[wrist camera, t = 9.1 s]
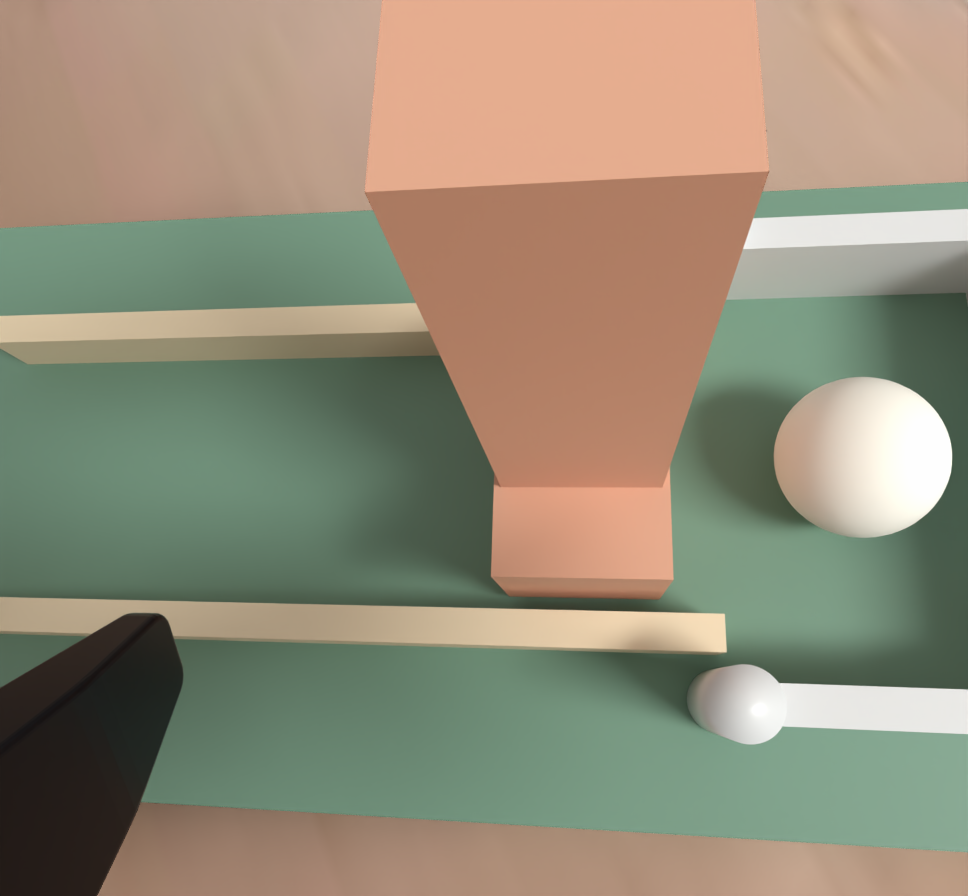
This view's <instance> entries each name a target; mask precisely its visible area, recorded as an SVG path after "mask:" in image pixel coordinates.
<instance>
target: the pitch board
mask: <svg viewBox="0 0 968 896" xmlns="http://www.w3.org/2000/svg"><path fill="white" fill-rule="evenodd" d="M956 209H968V182H955V183H934V184H913V185H892V186H871V187H851V188H830V189H809V190H788V191H767V192H762V194H761V197H760V200H759V203H758V206H757V209H756V212H755V215H754V218H772V217H795V216H818V215H841V214H864V213H887V212H910V211H933V210H956ZM852 377H873V378H880V379H885V380H889V381H892V382H895V383H898V384H900V385H902V386H904V387H907V388H909V389H911V390H912V391H914V392H915V393H917V394H918V395H920V396H921V397H922V398H924V399H925V400H926V401H927V402H928V403H929V404H930V405H931V406H932V407H933V408H934V410H935V411H936V412H937V413H938V415H939V416H940V418H941V419H942V421H943V423H944V425H945V427H946V429H947V432H948V435H949V438H950V442H951V448H952V467H951V474H950V477H949V481H948V483H947V486H946V488H945V490H944V492H943V494H942V496H941V498H940V499H939V500H938V502H937V503H936V504H935V506H934V507H933V508H932V509H931V510H930V511H929V512H928V513H927V514H926V515H925V516H924V517H922V518H921V519H920V520H918V521H917V522H916V523H914V524H913V525H911V526H909V527H907V528H905V529H903V530H901V531H898V532H895V533H892V534H889V535H884V536H879V537H871V538H857V537H847V536H842V535H838V534H835V533H832V532H829V531H826V530H824V529H822V528H820V527H818V526H816V525H814V524H813V523H811V522H810V521H808V520H807V519H806V518H804V517H803V516H802V515H801V514H799V513H798V512H797V511H796V510H795V509H794V508H793V506H792V505H791V504H790V503H789V501H788V500H787V499H786V497H785V495H784V494H783V492H782V490H781V488H780V485H779V483H778V480H777V477H776V472H775V467H774V446H775V442H776V437H777V434H778V431H779V429H780V426H781V424H782V422H783V421H784V419H785V417H786V416H787V414H788V413H789V412H790V410H791V409H792V408H793V406H795V405H796V404H797V403H798V402H799V401H800V400H801V399H802V398H803V397H804V396H806V395H807V394H808V393H810V392H811V391H813V390H815V389H817V388H818V387H821V386H823V385H825V384H827V383H830V382H834V381H837V380H840V379H845V378H852ZM670 490H671V519H672V549H673V578H674V580H673V581H672V583H671V584H670V585H669V587H668V588H667V590H666V591H665V592H664V594H663V595H662V597H661V598H660V599H659V600H653V599H605V598H557V597H509V596H508V595H507V594H506V592H505V591H504V590H503V589H502V588H501V587H500V586H499V585H498V584H497V583H496V582H495V580H494V579H493V578H492V577H491V559H492V528H493V497H494V471H493V469H492V467H491V464H490V462H489V460H488V458H487V456H486V454H485V451H484V449H483V447H482V445H481V443H480V441H479V438H478V436H477V434H476V432H475V430H474V428H473V425H472V423H471V421H470V419H469V417H468V415H467V412H466V410H465V408H464V406H463V404H462V402H461V399H460V397H459V395H458V393H457V391H456V389H455V386H454V384H453V382H452V380H451V378H450V376H449V373H448V371H447V369H446V367H445V365H444V363H443V361H442V358H441V356H440V354H439V352H438V350H437V348H436V345H435V343H434V341H433V339H432V337H431V335H430V332H429V330H428V328H427V326H426V324H425V322H424V319H423V317H422V315H421V313H420V311H419V309H418V306H417V304H416V302H415V300H414V298H413V296H412V293H411V291H410V289H409V287H408V285H407V283H406V280H405V278H404V276H403V274H402V272H401V270H400V268H399V265H398V263H397V261H396V259H395V257H394V255H393V252H392V250H391V248H390V246H389V244H388V242H387V239H386V237H385V235H384V233H383V231H382V229H381V226H380V224H379V222H378V220H377V218H376V216H375V213H374V211H373V210H371V211H350V212H329V213H308V214H288V215H267V216H246V217H225V218H204V219H183V220H162V221H142V222H121V223H100V224H79V225H58V226H37V227H16V228H0V687H2V686H4V685H5V684H7V683H9V682H11V681H12V680H14V679H16V678H17V677H19V676H21V675H22V674H24V673H26V672H28V671H29V670H31V669H33V668H34V667H36V666H38V665H39V664H41V663H43V662H45V661H46V660H48V659H50V658H51V657H53V656H55V655H56V654H58V653H60V652H62V651H63V650H65V649H67V648H68V647H70V646H72V645H73V644H75V643H77V642H79V641H80V640H82V639H84V638H85V637H87V636H89V635H90V634H92V633H94V632H96V631H97V630H99V629H101V628H102V627H104V626H106V625H108V624H109V623H111V622H113V621H114V620H116V619H118V618H119V617H121V616H123V615H125V614H128V613H159V614H161V615H163V616H165V618H166V619H167V620H168V622H169V624H170V627H171V631H172V634H173V637H174V640H175V643H176V646H177V649H178V652H179V656H180V659H181V662H182V665H183V673H184V677H183V685H182V689H181V692H180V695H179V698H178V700H177V703H176V706H175V709H174V711H173V714H172V717H171V720H170V723H169V725H168V728H167V731H166V734H165V736H164V739H163V742H162V745H161V748H160V750H159V753H158V756H157V759H156V762H155V764H154V767H153V770H152V773H151V775H150V778H149V781H148V784H147V787H146V789H145V792H144V795H143V797H142V800H141V802H148V803H165V804H181V805H198V806H214V807H231V808H247V809H263V810H280V811H296V812H313V813H329V814H346V815H362V816H379V817H395V818H412V819H428V820H445V821H461V822H477V823H494V824H510V825H527V826H543V827H560V828H576V829H593V830H609V831H626V832H642V833H658V834H675V835H691V836H708V837H724V838H741V839H757V840H774V841H790V842H807V843H823V844H839V845H856V846H872V847H889V848H905V849H922V850H938V851H955V852H968V734H953V733H929V732H905V731H881V730H856V729H832V728H808V727H784V726H782V728H781V729H780V731H779V732H778V733H777V734H776V735H775V736H774V737H773V738H771V739H770V740H768V741H766V742H763V743H760V744H743V743H739V742H736V741H733V740H730V739H728V738H725V737H722V736H720V735H717V734H714V733H711V732H709V731H707V730H705V729H703V728H702V727H700V726H699V725H698V724H697V723H696V722H695V721H694V719H693V718H692V716H691V714H690V712H689V709H688V706H687V692H688V688H689V686H690V684H691V682H692V681H693V679H694V678H695V677H696V676H697V675H699V674H700V673H702V672H704V671H707V670H710V669H716V668H722V667H728V666H734V665H739V664H747V665H753V666H757V667H759V668H761V669H763V670H765V671H767V672H768V673H770V674H771V675H772V676H773V677H774V678H775V679H776V680H777V681H778V683H791V684H820V685H850V686H879V687H908V688H937V689H966V690H968V304H967V297H966V293H938V294H905V295H871V296H838V297H805V298H771V299H738V300H726V301H725V304H724V307H723V310H722V313H721V316H720V319H719V322H718V325H717V328H716V331H715V334H714V337H713V340H712V343H711V345H710V348H709V351H708V354H707V357H706V360H705V363H704V366H703V369H702V372H701V375H700V378H699V381H698V384H697V387H696V390H695V393H694V396H693V399H692V402H691V405H690V408H689V411H688V414H687V417H686V420H685V423H684V426H683V429H682V432H681V435H680V438H679V441H678V444H677V446H676V449H675V452H674V455H673V458H672V461H671V464H670Z"/></svg>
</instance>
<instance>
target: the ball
mask: <svg viewBox="0 0 968 896" xmlns="http://www.w3.org/2000/svg"><path fill="white" fill-rule="evenodd" d="M774 467H775V472H776V477H777V480H778V483H779V485H780V488H781V490H782V492H783V494H784V495H785V497H786V499H787V500H788V501H789V503H790V504H791V505H792V506H793V508H794V509H795V510H796V511H797V512H798V513H799V514H801V515H802V516H803V517H804V518H806V519H807V520H808V521H810V522H811V523H813V524H814V525H816V526H818V527H820V528H822V529H824V530H826V531H829V532H832V533H835V534H838V535H842V536H847V537H857V538H871V537H879V536H884V535H889V534H892V533H895V532H898V531H901V530H903V529H905V528H907V527H909V526H911V525H913V524H914V523H916V522H917V521H918V520H920V519H921V518H922V517H924V516H925V515H926V514H927V513H928V512H929V511H930V510H931V509H932V508H933V507H934V506H935V504H936V503H937V502H938V500H939V499H940V498H941V496H942V494H943V492H944V490H945V488H946V486H947V483H948V481H949V477H950V474H951V467H952V448H951V442H950V438H949V435H948V432H947V429H946V427H945V425H944V423H943V421H942V419H941V418H940V416H939V415H938V413H937V412H936V411H935V410H934V408H933V407H932V406H931V405H930V404H929V403H928V402H927V401H926V400H925V399H924V398H922V397H921V396H920V395H918V394H917V393H915V392H914V391H912V390H911V389H909V388H907V387H904V386H902V385H900V384H898V383H895V382H892V381H889V380H885V379H880V378H873V377H852V378H845V379H840V380H837V381H834V382H830V383H827V384H825V385H823V386H821V387H818V388H817V389H815V390H813V391H811V392H810V393H808V394H807V395H806V396H804V397H803V398H802V399H801V400H800V401H799V402H798V403H797V404H796V405H795V406H793V408H792V409H791V410H790V412H789V413H788V414H787V416H786V417H785V419H784V421H783V422H782V424H781V426H780V429H779V431H778V434H777V437H776V442H775V446H774Z"/></svg>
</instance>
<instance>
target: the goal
mask: <svg viewBox="0 0 968 896" xmlns="http://www.w3.org/2000/svg"><path fill="white" fill-rule="evenodd" d="M938 293H966V297H967V304H968V209H956V210H933V211H910V212H887V213H864V214H841V215H818V216H795V217H772V218H753V221H752V224H751V227H750V230H749V233H748V236H747V239H746V242H745V245H744V247H743V250H742V253H741V256H740V259H739V262H738V265H737V268H736V271H735V274H734V277H733V280H732V283H731V286H730V289H729V292H728V295H727V298H726V300H738V299H771V298H805V297H838V296H871V295H905V294H938ZM687 706H688V709H689V712H690V714H691V716H692V718H693V719H694V721H695V722H696V723H697V724H698V725H699V726H700V727H702V728H703V729H705V730H707V731H709V732H711V733H714V734H717V735H720V736H722V737H725V738H728V739H730V740H733V741H736V742H739V743H743V744H760V743H763V742H766V741H768V740H770V739H771V738H773V737H774V736H775V735H776V734H777V733H778V732H779V731H780V729H781V728H782V726H784V727H808V728H832V729H856V730H881V731H905V732H929V733H953V734H968V690H966V689H937V688H908V687H879V686H850V685H820V684H791V683H778V681H777V680H776V679H775V678H774V677H773V676H772V675H771V674H770V673H768V672H767V671H765V670H763V669H761V668H759V667H757V666H753V665H747V664H739V665H734V666H728V667H722V668H716V669H710V670H707V671H704V672H702V673H700V674H699V675H697V676H696V677H695V678H694V679H693V681H692V682H691V684H690V686H689V688H688V692H687Z"/></svg>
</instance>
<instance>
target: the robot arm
mask: <svg viewBox="0 0 968 896" xmlns="http://www.w3.org/2000/svg"><path fill="white" fill-rule="evenodd" d="M183 677H184V673H183V665H182V662H181V659H180V656H179V652H178V649H177V646H176V643H175V640H174V637H173V634H172V631H171V627H170V624H169V622H168V620H167V619H166V618H165V616H163V615H161V614H159V613H128V614H125V615H123V616H121V617H119V618H118V619H116V620H114V621H113V622H111V623H109V624H108V625H106V626H104V627H102V628H101V629H99V630H97V631H96V632H94V633H92V634H90V635H89V636H87V637H85V638H84V639H82V640H80V641H79V642H77V643H75V644H73V645H72V646H70V647H68V648H67V649H65V650H63V651H62V652H60V653H58V654H56V655H55V656H53V657H51V658H50V659H48V660H46V661H45V662H43V663H41V664H39V665H38V666H36V667H34V668H33V669H31V670H29V671H28V672H26V673H24V674H22V675H21V676H19V677H17V678H16V679H14V680H12V681H11V682H9V683H7V684H5V685H4V686H2V687H0V896H97V895H98V893H99V891H100V889H101V887H102V885H103V883H104V880H105V878H106V876H107V874H108V872H109V870H110V868H111V866H112V864H113V862H114V859H115V857H116V855H117V853H118V851H119V849H120V847H121V845H122V843H123V841H124V839H125V836H126V834H127V832H128V830H129V828H130V826H131V823H132V821H133V819H134V817H135V814H136V812H137V810H138V807H139V805H140V802H141V800H142V797H143V795H144V792H145V789H146V787H147V784H148V781H149V778H150V775H151V773H152V770H153V767H154V764H155V762H156V759H157V756H158V753H159V750H160V748H161V745H162V742H163V739H164V736H165V734H166V731H167V728H168V725H169V723H170V720H171V717H172V714H173V711H174V709H175V706H176V703H177V700H178V698H179V695H180V692H181V689H182V685H183Z"/></svg>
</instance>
